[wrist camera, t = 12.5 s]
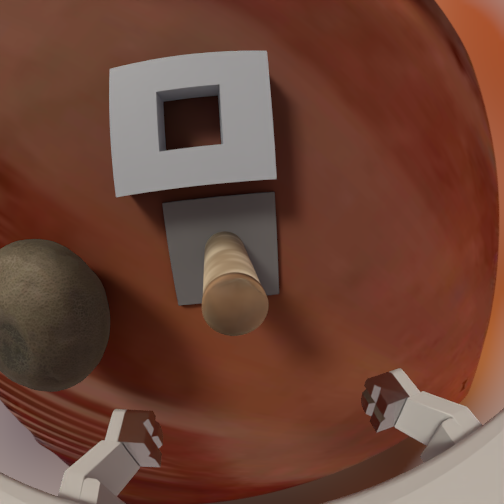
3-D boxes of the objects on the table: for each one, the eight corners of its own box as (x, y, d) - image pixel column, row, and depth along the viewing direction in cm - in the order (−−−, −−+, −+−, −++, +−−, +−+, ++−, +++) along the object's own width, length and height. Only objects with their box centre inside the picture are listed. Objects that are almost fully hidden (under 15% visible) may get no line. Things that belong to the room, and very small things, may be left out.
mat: (273, 191, 28) (274, 192, 27) (277, 291, 31) (279, 293, 31) (163, 202, 27) (162, 203, 26) (179, 302, 30) (178, 305, 29)
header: (259, 65, 24) (266, 50, 20) (267, 177, 27) (276, 179, 24) (122, 80, 22) (109, 69, 18) (128, 192, 26) (116, 197, 22)
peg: (243, 229, 28) (266, 273, 17) (246, 267, 29) (269, 331, 18) (201, 233, 27) (197, 281, 16) (206, 272, 29) (206, 339, 17)
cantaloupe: (152, 283, 29) (115, 377, 15) (91, 353, 30) (52, 439, 16) (62, 196, 24) (-33, 228, 10) (15, 281, 26) (-54, 340, 12)
